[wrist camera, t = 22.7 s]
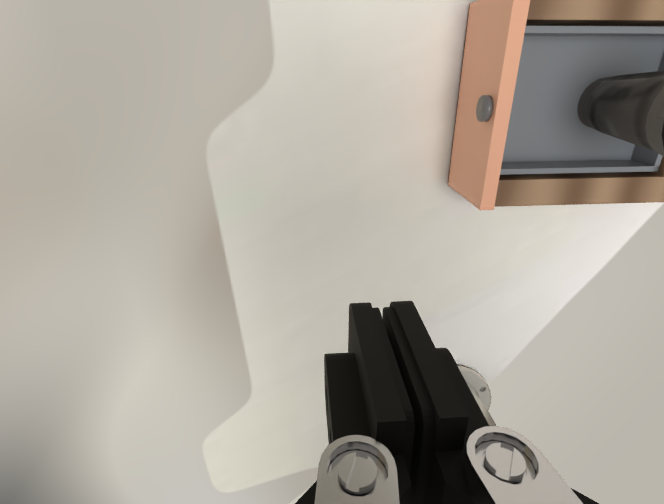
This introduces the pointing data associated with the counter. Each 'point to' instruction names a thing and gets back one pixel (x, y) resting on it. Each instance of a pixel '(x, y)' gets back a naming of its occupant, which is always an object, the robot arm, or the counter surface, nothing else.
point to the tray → (540, 98)
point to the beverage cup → (627, 108)
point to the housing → (587, 188)
